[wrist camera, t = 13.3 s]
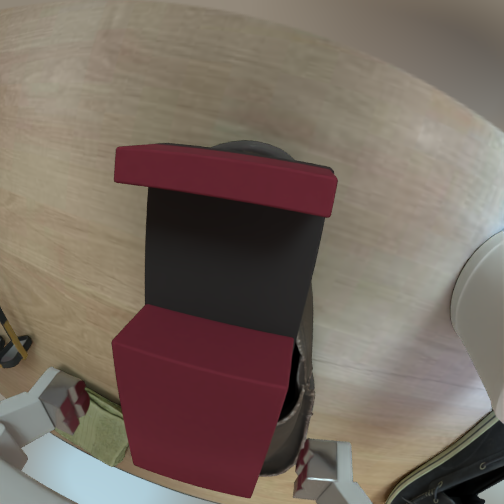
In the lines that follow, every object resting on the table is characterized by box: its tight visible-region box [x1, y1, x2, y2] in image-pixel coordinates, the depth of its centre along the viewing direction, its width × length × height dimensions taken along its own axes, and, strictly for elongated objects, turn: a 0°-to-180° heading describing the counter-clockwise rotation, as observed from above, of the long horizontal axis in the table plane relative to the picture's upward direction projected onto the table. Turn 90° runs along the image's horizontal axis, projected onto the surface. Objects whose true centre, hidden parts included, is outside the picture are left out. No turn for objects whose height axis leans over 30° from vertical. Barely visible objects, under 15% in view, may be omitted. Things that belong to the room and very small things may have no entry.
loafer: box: [211, 140, 315, 477], centre depth 21 cm, size 11×30×11 cm, turn 7°
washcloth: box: [54, 388, 129, 467], centre depth 35 cm, size 13×18×3 cm
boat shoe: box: [385, 411, 504, 504], centre depth 27 cm, size 11×29×9 cm, turn 160°
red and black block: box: [112, 143, 338, 498], centre depth 11 cm, size 14×6×4 cm, turn 172°
